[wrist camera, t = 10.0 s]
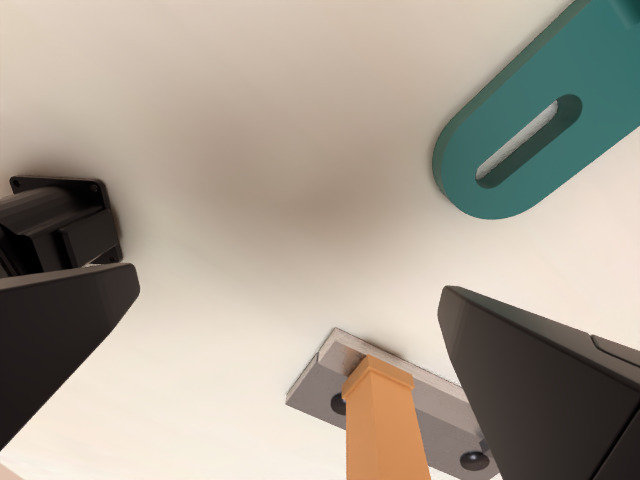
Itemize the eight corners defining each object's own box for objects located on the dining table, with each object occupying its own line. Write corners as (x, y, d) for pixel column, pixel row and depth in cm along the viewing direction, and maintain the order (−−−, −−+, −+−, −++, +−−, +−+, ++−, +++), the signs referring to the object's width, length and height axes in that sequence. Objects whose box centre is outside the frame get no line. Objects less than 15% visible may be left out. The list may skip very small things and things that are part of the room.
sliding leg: (341, 383, 26) (340, 542, 17) (367, 351, 25) (382, 507, 15) (383, 402, 27) (404, 566, 17) (411, 372, 25) (450, 535, 16)
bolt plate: (286, 394, 30) (284, 405, 29) (317, 352, 27) (316, 362, 26) (475, 476, 33) (479, 489, 32) (517, 444, 30) (523, 457, 29)
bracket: (723, -144, 14) (1111, -388, 7) (783, -18, 16) (1151, -112, 9) (409, 158, 20) (444, 193, 13) (475, 226, 22) (538, 290, 15)
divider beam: (316, 354, 27) (297, 526, 16) (339, 322, 26) (335, 489, 15) (515, 446, 30) (611, 643, 19) (546, 422, 29) (670, 622, 18)
